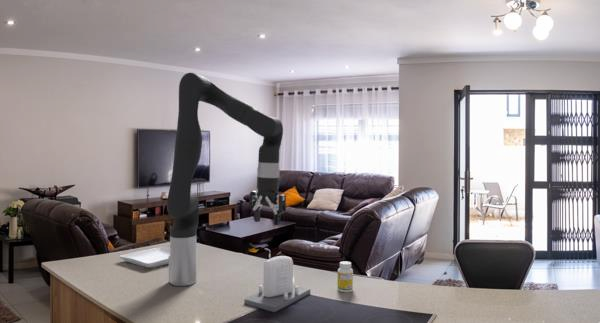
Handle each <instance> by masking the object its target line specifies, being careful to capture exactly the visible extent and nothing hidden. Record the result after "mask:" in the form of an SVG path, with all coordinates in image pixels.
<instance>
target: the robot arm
mask: <svg viewBox="0 0 600 323" xmlns="http://www.w3.org/2000/svg"><path fill="white" fill-rule="evenodd" d="M199 102H203V103H205V104H209V105H211V106H213V107H215V108H217V109H219V110H220V111H222V112H224V114H226V115H227V116H228V117H229V118H231V119H232V120H235V121H236V122H238V123H240V124H241V125H244V126H245V127H247V128H248V129H250V130H251V131H253V133H255V134H257V135H258V136H260V137H262V138H263V140H262V144H261V145H260V146H259V149H258V163H257V169H256V173H257V174H256V189H257V190H252V191H250V193H249V200H248V201H249V203H248V204H249V205H248V207H249V209H251V210H252V211H253V220H254V222H255V223H259V222H260V221H261V208H262V207H264V206H266V207H270V209H271V210H272V211H273V226H279V225H280V223H281V218H282V217H281V216H282V214H283V213H286V212H287V196H286V194H279V193H278V192H279V189H280V170H281V168H280V149H281V145H282V141H283V135H284V127H283V126H284V125H283V122H282V121H281V120H280V119H279V118H278V117H273V116H269V115H267V114H264V112H261V111H259V110H258V108H256V107H254V106H253V105H251V104H249V103H247V102H245V101H244V100H241V99H239V98H238V97H235V96H233V95H231V94H229V93H227V92H226V91H224V90H223V89H222V88H220V87H219V86H217V85H216V84H215V83H213V82H212V81H211V80H209V79H208V78H207V77H205V76H203V75H201V74H198V73H195V72H187V73H185V74H184V75H183V76H181V79H180V81H179V84H178V112H177V113H178V116H177V124H176V125H177V126H176V134H175V141H174V150H173V151H174V152H173V153H174V154H173V163H172V171H171V172H172V173H171V180H170V186H169V190H168V194H167V199H166V210H167V213H168V214H169V216H171V217H172V218H173V219H174V221H173V223H172V226H171V227H170V229H169V243H170V244H169V249H170V256H169V264H168V283H170V285H173V286H178V287H185V286H191V285H194V284H196V282H197V230H198V227H199V216H200V214H199V213H200V212H199V211H200V205H199V204H200V203H199V198H198V196H197V195H196V194H195V192H193V191H192V190H191V189H192V181H193V177H194V175H195V172H196V170H197V167H198V164H199V162H200V159H201V154H202V146H203V134H202V129H201V125H200V122H199V113H198V110H199Z"/></svg>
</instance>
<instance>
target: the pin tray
mask: <svg viewBox="0 0 600 323" xmlns="http://www.w3.org/2000/svg"><path fill="white" fill-rule="evenodd" d="M263 288H264V285H263V284H261V285H260V284H259V285H258V292H257V293H255V294H252V295H251V296H249V297H246V298H244V302H243V304H244V305H248V306H250V307H255V308H258V309H261V310H265V311H268V312H272V313H277V311H280V310H282V309H283V308H286V307H287V306H289V305H291V304H293V303H295V302H297V301H298V300H301V299H302V298H304V297H307V296H308V295H310V294H311V288H307V287H302V286H299V285H295V284H293V291H292V292H291V293H288V292H287V291H285V292H284V294H282V295H278V296H273V297H265V296H264V292H263Z"/></svg>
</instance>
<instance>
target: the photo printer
mask: <svg viewBox="0 0 600 323" xmlns="http://www.w3.org/2000/svg"><path fill="white" fill-rule="evenodd" d="M293 282H294V261H293V258H292V257H290V256H286V255H279V256H278V255H277V256H273V257H270V258H269V259H267V260H265V261H264V263H263V292H264V296H265V297H273V296H278V295H282V294H284V292H285V291H287V292H288V293H291V292H292V291H293V285H294V283H293Z"/></svg>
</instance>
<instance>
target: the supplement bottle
mask: <svg viewBox="0 0 600 323" xmlns="http://www.w3.org/2000/svg"><path fill="white" fill-rule="evenodd" d="M353 289H354V270H353V268H352V262H351V261H347V260H346V261H344V260H343V261H340V262H339V268H338V269H337V290H338V291H339V292H342V293H350V292H352V291H353Z"/></svg>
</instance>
